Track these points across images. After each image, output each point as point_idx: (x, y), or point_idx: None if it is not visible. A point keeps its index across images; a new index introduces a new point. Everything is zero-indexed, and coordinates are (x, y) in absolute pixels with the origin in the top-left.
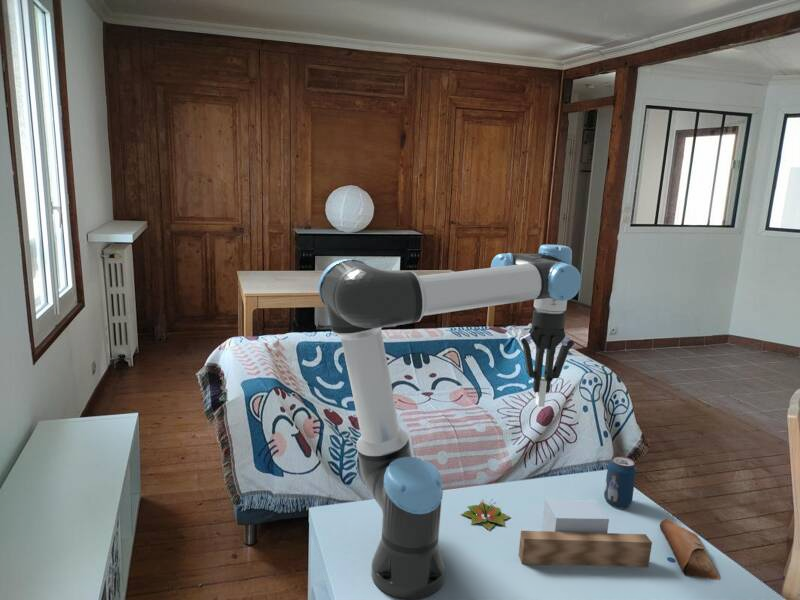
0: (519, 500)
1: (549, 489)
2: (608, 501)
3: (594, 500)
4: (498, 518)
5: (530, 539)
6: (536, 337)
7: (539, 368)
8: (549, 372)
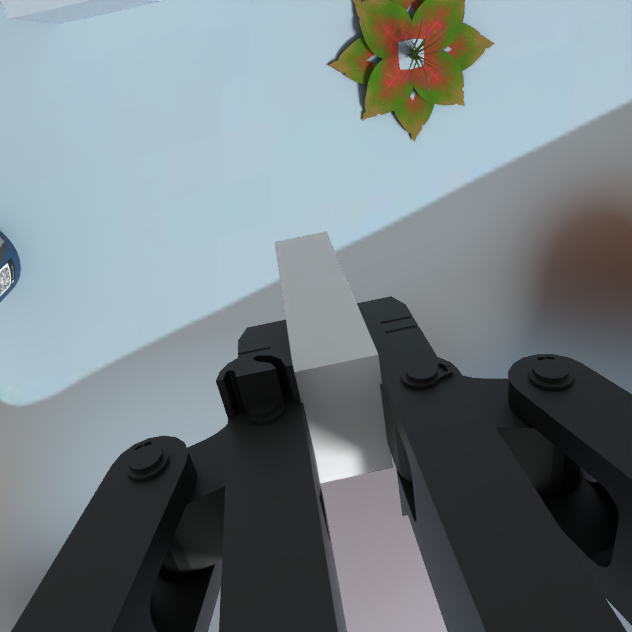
0: (296, 186)
1: (199, 277)
2: (4, 235)
3: (9, 10)
4: (374, 37)
5: None
6: None
7: (484, 487)
8: (277, 477)
